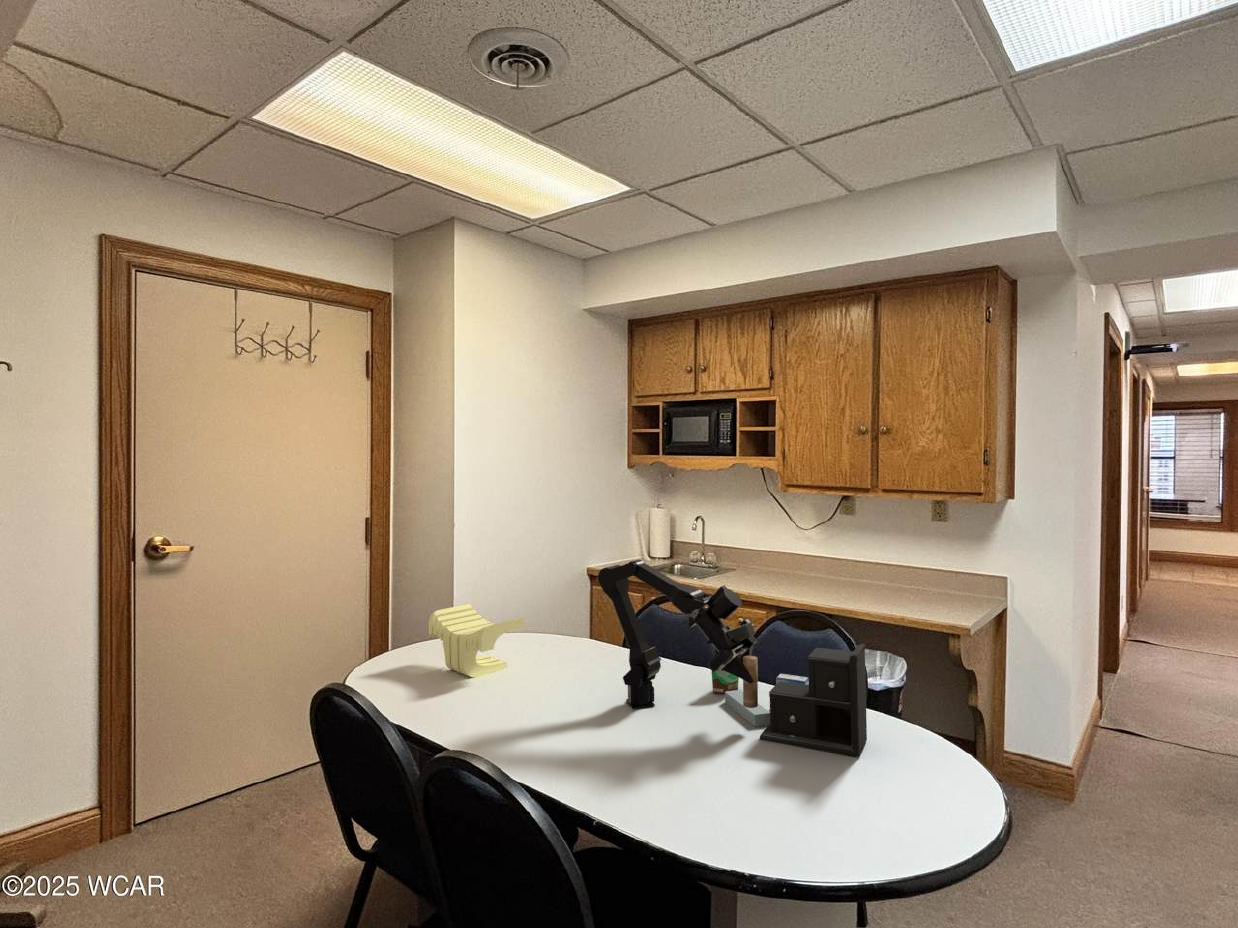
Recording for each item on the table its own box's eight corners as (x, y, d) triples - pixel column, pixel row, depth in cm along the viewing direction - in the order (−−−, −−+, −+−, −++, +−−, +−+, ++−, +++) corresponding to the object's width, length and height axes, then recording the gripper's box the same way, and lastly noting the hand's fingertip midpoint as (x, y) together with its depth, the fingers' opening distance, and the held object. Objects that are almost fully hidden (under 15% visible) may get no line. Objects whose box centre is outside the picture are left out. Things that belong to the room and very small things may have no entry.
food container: (729, 699, 199) (729, 663, 199) (710, 694, 202) (709, 660, 202) (749, 687, 209) (749, 653, 208) (731, 683, 212) (730, 649, 212)
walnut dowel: (746, 708, 176) (746, 660, 175) (740, 703, 179) (740, 656, 179) (760, 707, 177) (760, 659, 176) (754, 702, 180) (753, 655, 180)
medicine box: (776, 709, 191) (775, 677, 191) (780, 703, 195) (780, 672, 195) (805, 714, 187) (805, 681, 187) (809, 708, 191) (809, 676, 191)
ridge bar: (754, 726, 179) (754, 714, 179) (725, 702, 196) (724, 691, 196) (770, 724, 180) (770, 712, 180) (740, 700, 198) (739, 689, 198)
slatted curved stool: (429, 665, 234) (428, 611, 233) (470, 655, 245) (469, 603, 245) (482, 686, 213) (481, 627, 212) (524, 673, 224) (523, 617, 224)
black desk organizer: (758, 740, 171) (757, 643, 171) (771, 724, 181) (770, 632, 180) (859, 759, 160) (858, 655, 159) (867, 741, 170) (867, 643, 169)
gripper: (719, 618, 172) (762, 671, 166) (750, 603, 187) (790, 651, 182) (690, 646, 176) (731, 698, 171) (722, 629, 192) (761, 676, 186)
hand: (755, 680), depth 177 cm, fingers closed on walnut dowel, 4 cm apart
